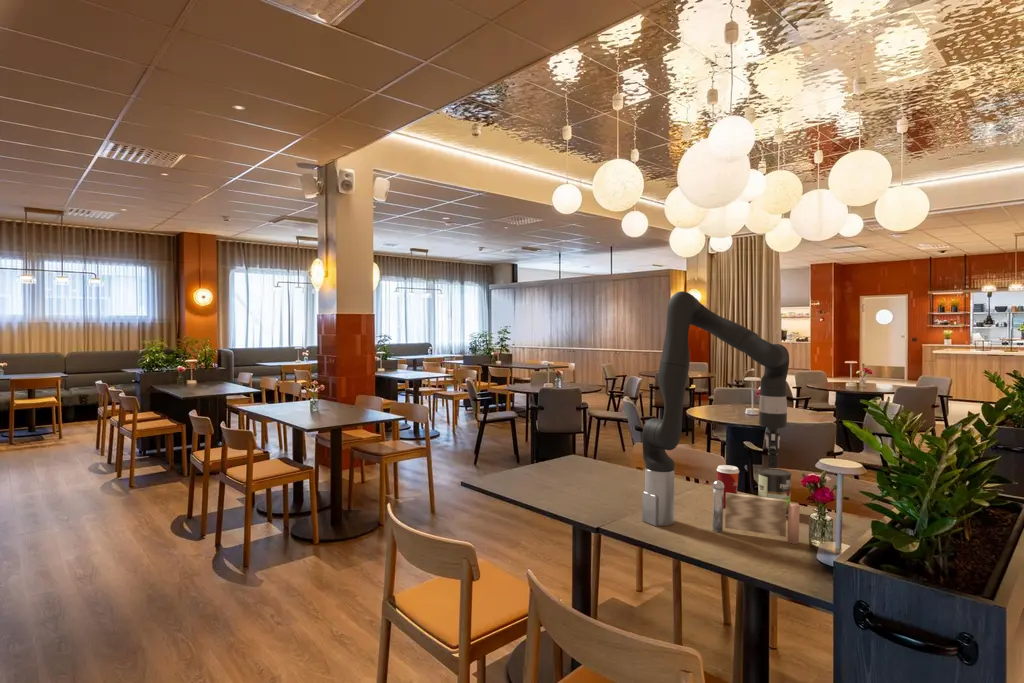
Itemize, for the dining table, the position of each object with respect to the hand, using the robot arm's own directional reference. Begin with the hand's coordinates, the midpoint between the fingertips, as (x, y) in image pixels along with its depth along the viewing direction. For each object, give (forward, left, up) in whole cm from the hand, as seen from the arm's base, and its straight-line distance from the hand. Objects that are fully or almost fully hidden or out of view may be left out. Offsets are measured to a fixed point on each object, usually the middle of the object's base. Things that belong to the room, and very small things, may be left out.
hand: (772, 464), depth 168 cm
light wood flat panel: (-3, +3, -21) cm, 21 cm away
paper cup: (+14, +27, -23) cm, 38 cm away
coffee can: (+23, +15, -23) cm, 35 cm away
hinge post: (-9, +12, -22) cm, 27 cm away
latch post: (+3, -5, -22) cm, 23 cm away
